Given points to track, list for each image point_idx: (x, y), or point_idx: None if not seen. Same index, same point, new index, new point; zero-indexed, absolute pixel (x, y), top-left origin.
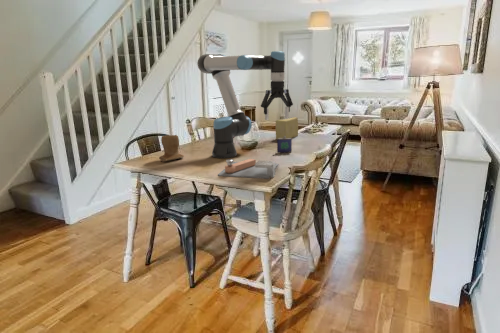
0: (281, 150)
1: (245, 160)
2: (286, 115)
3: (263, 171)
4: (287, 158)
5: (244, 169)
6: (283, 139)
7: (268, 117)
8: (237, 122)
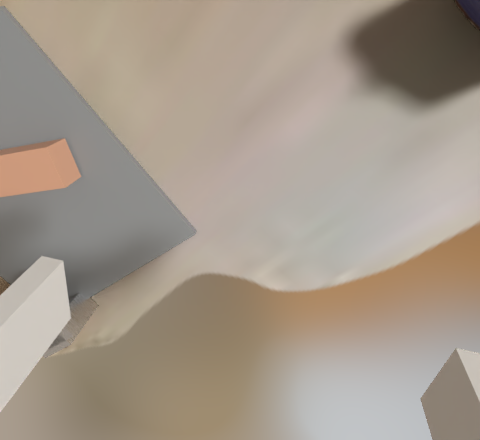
0: (474, 13)
1: (9, 160)
2: (449, 426)
3: (67, 267)
4: (337, 175)
5: None
6: None
7: (41, 351)
8: None
